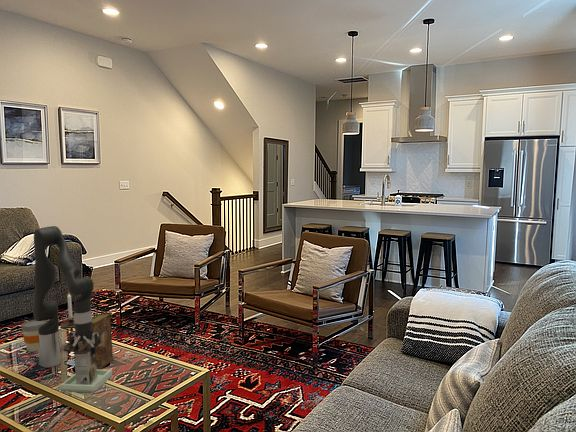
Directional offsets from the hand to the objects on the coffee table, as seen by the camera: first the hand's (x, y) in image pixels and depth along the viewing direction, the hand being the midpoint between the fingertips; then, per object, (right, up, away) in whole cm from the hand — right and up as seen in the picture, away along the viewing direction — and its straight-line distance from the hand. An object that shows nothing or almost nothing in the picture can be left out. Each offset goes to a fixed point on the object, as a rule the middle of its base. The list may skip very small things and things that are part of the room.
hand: (85, 353), depth 202 cm
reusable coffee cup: (-48, -11, +43) cm, 66 cm away
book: (-2, -13, +20) cm, 23 cm away
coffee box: (0, -14, +1) cm, 14 cm away
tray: (0, -14, +1) cm, 14 cm away
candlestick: (-27, -11, +43) cm, 52 cm away
